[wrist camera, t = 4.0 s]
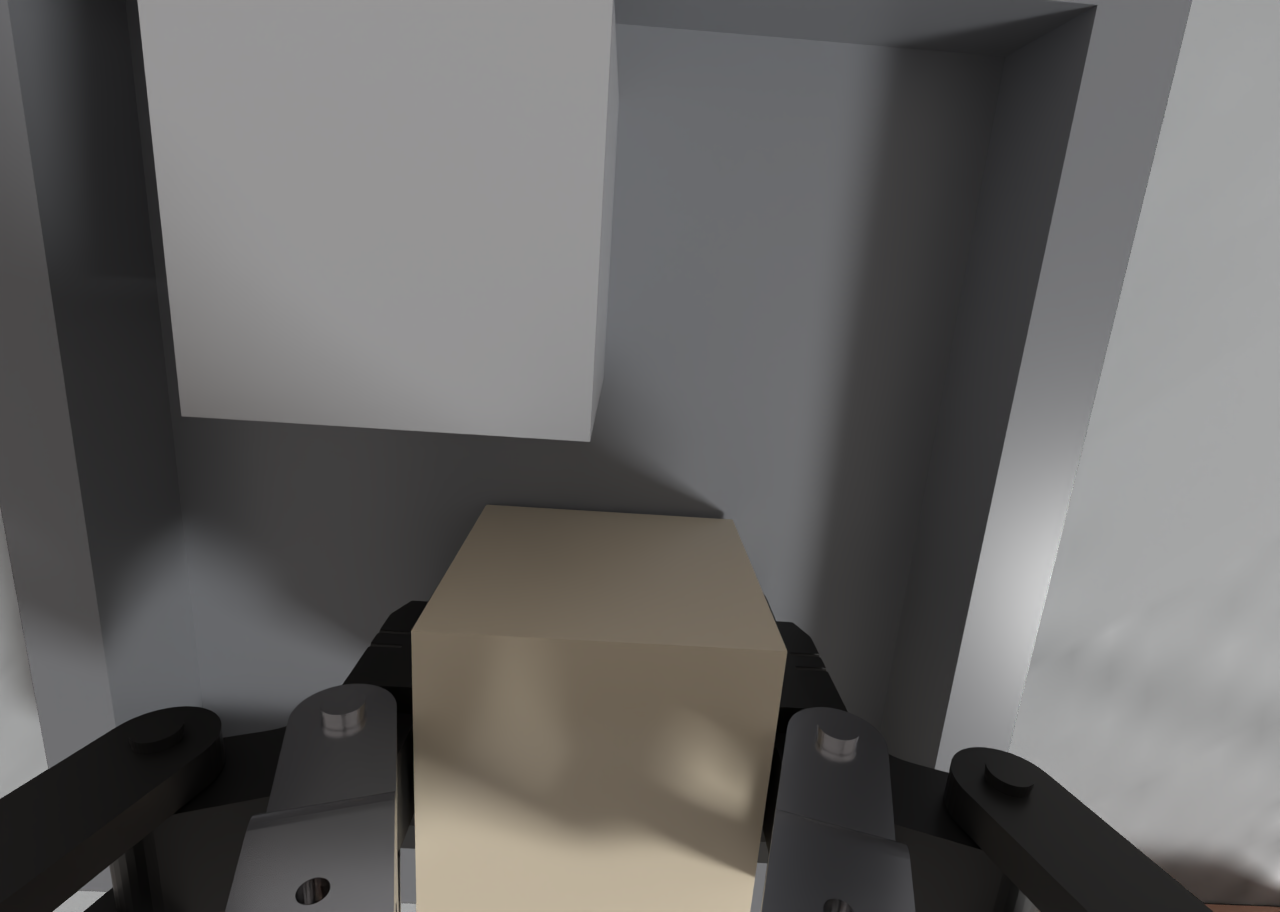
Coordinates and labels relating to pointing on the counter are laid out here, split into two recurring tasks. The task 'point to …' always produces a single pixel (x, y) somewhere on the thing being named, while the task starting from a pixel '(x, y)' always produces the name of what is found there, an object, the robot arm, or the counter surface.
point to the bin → (614, 363)
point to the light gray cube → (387, 209)
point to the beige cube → (593, 716)
